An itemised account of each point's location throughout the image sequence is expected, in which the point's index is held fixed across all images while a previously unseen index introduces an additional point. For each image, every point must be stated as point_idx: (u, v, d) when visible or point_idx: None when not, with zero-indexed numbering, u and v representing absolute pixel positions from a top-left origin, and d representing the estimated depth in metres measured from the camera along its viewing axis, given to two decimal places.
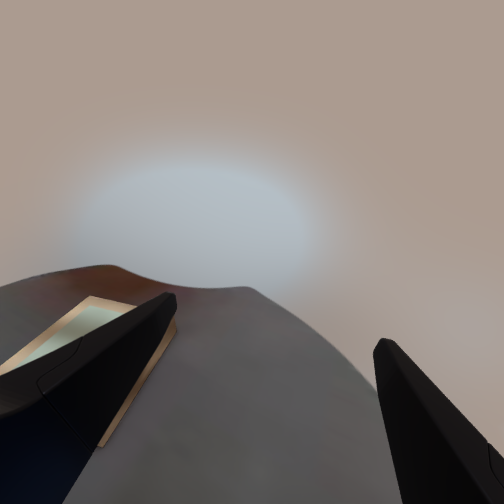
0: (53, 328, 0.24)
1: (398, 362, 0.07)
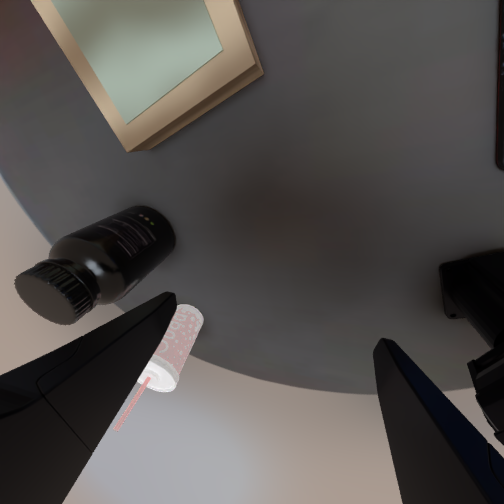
0: (71, 53, 0.15)
1: (398, 362, 0.07)
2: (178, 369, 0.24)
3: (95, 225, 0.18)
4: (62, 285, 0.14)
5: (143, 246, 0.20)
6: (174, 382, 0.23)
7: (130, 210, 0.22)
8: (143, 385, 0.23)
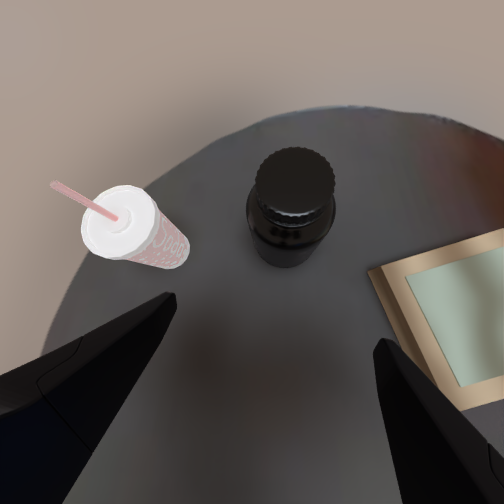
0: (455, 249, 0.19)
1: (398, 362, 0.07)
2: None
3: None
4: (315, 213, 0.12)
5: (296, 258, 0.19)
6: (104, 255, 0.16)
7: None
8: (109, 214, 0.16)
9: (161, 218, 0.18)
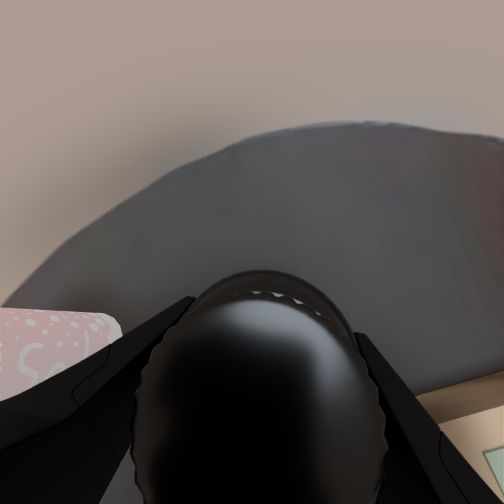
0: None
1: (366, 355, 0.07)
2: None
3: None
4: None
5: None
6: None
7: None
8: None
9: (18, 354, 0.09)
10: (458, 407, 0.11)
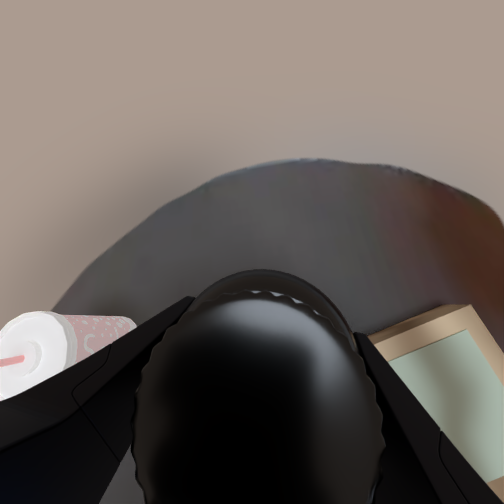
0: (415, 334, 0.18)
1: (366, 355, 0.07)
2: None
3: None
4: None
5: None
6: None
7: None
8: (7, 363, 0.13)
9: (83, 339, 0.16)
10: None
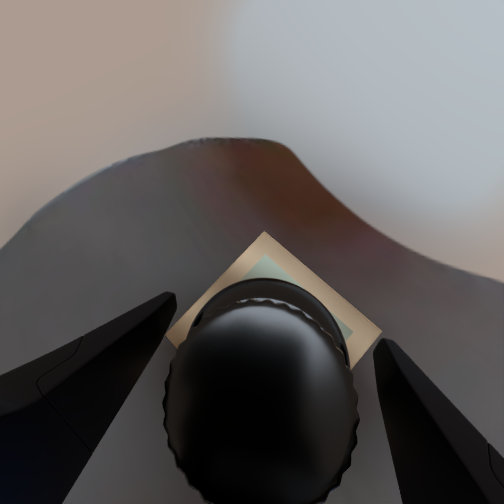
0: (227, 278, 0.18)
1: (398, 362, 0.07)
2: None
3: None
4: None
5: None
6: None
7: None
8: None
9: None
10: None
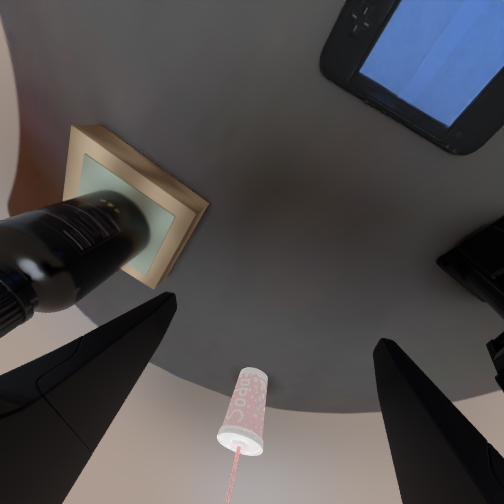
0: None
1: (398, 362, 0.07)
2: (259, 432, 0.27)
3: (36, 210, 0.14)
4: None
5: (103, 238, 0.16)
6: (259, 445, 0.26)
7: (90, 195, 0.18)
8: (236, 455, 0.26)
9: (226, 419, 0.29)
10: None
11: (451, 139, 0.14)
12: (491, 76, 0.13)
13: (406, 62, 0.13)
